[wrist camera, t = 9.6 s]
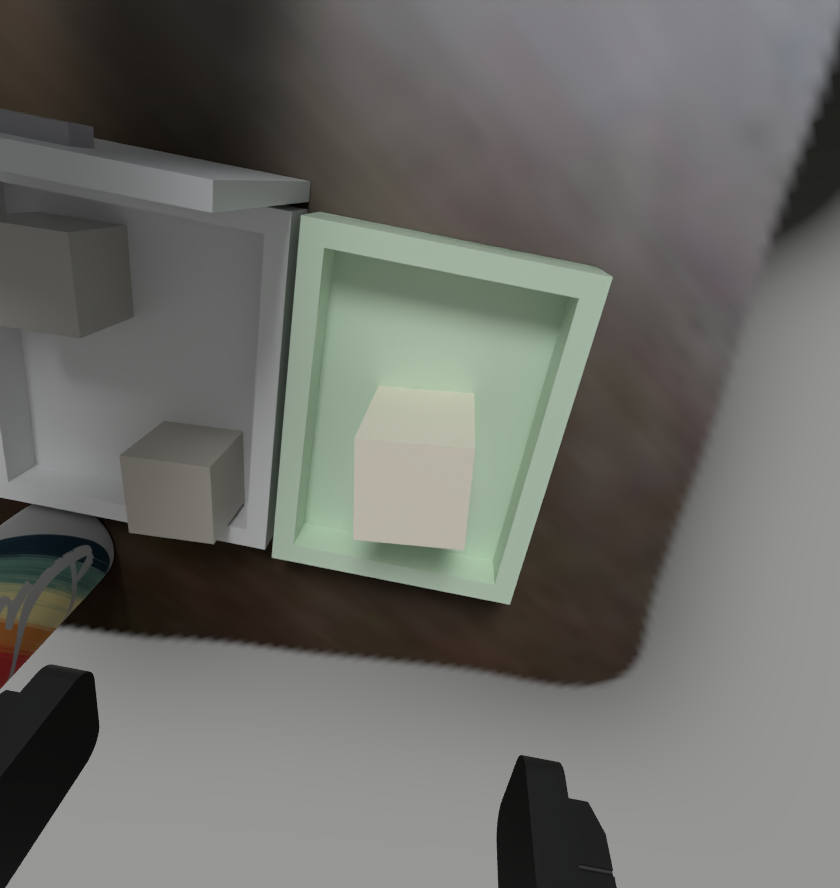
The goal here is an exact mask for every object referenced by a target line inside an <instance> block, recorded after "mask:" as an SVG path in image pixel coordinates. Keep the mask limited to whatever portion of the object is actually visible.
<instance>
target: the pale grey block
mask: <svg viewBox="0 0 840 888" xmlns="http://www.w3.org/2000/svg"><path fill="white" fill-rule="evenodd" d="M119 458H120V466H121V473H122V481H123V489H124V497H125V505H126V512H127V520H128V528H129V533H135V534H142V535H150V536H157V537H164V538H172V539H179V540H186V541H194V542H201V543H208V544H214V543H215V542H216V541H217V539H218V538H219V536H220V535H221V534H222V532H223V531H224V529H225V528H226V526H227V525H228V524H229V522H230V521H231V519H232V518H233V517H234V515H235V514H236V512H237V511H238V510H239V508H240V507H241V505H242V504H243V503H244V501H245V488H244V450H243V431H238V430H230V429H223V428H215V427H207V426H200V425H192V424H184V423H177V422H169V421H163V422H162V423H160V424H159V425H158V426H157V427H155V428H154V429H153V430H151V431H150V432H149V433H148V434H146V435H145V436H144V437H142V438H141V439H140V440H139V441H137V442H136V443H135V444H133V445H132V446H131V447H129V448H128V449H127V450H126V451H124V452H123V453H122V454H120V455H119Z"/></svg>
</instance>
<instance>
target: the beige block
mask: <svg viewBox="0 0 840 888" xmlns="http://www.w3.org/2000/svg"><path fill="white" fill-rule="evenodd" d="M474 456H475V405H474V394H473V393H461V392H448V391H436V390H424V389H412V388H399V387H387V386H378V388H377V390H376V392H375V394H374V397H373V399H372V401H371V403H370V405H369V408H368V410H367V412H366V414H365V416H364V419H363V421H362V423H361V425H360V427H359V430H358V432H357V434H356V436H355V438H354V517H353V540H360V541H371V542H381V543H392V544H402V545H413V546H423V547H434V548H444V549H455V550H464V548H465V539H466V530H467V521H468V512H469V502H470V493H471V484H472V475H473V466H474Z"/></svg>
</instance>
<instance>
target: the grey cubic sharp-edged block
mask: <svg viewBox="0 0 840 888" xmlns="http://www.w3.org/2000/svg"><path fill="white" fill-rule="evenodd" d="M133 317H134V312H133V299H132V286H131V273H130V260H129V248H128V235H127V225H122V224H116V223H109V222H102V221H96V220H89V219H82V218H76V217H69V216H62V215H56V214H49V213H43V212H21V213H6V214H0V326H3V327H10V328H16V329H23V330H29V331H36V332H42V333H49V334H55V335H62V336H68V337H75V338H82V337H85V336H87V335H90V334H93V333H95V332H98V331H100V330H103V329H105V328H108V327H110V326H113V325H115V324H118V323H120V322H123V321H125V320H128V319H130V318H133Z"/></svg>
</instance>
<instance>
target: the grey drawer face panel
mask: <svg viewBox="0 0 840 888" xmlns="http://www.w3.org/2000/svg"><path fill="white" fill-rule="evenodd" d="M0 171H5V172H10V173H15V174H20V175H25V176H30V177H35V178H40V179H45V180H50V181H55V182H60V183H65V184H70V185H75V186H80V187H85V188H90V189H95V190H100V191H105V192H110V193H115V194H120V195H125V196H130V197H135V198H140V199H145V200H150V201H155V202H160V203H165V204H170V205H176V206H181V207H186V208H191V209H196V210H201V211H206V212H211V213H215V212H224V211H233V210H241V209H250V208H259V207H268V206H277V205H285V204H294V203H303V202H309V196H310V185H311V181H307V180H302V179H297V178H292V177H287V176H282V175H277V174H272V173H267V172H262V171H257V170H252V169H247V168H242V167H237V166H232V165H227V164H222V163H216V162H211V161H206V160H201V159H196V158H191V157H186V156H181V155H176V154H171V153H166V152H161V151H156V150H151V149H146V148H141V147H136V146H131V145H126V144H121V143H116V142H111V141H106V140H101V139H96V138H94V133H93V127H92V126H87V125H82V124H77V123H72V122H67V121H62V120H57V119H52V118H47V117H42V116H36V115H31V114H26V113H21V112H16V111H11V110H6V109H1V108H0Z"/></svg>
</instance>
